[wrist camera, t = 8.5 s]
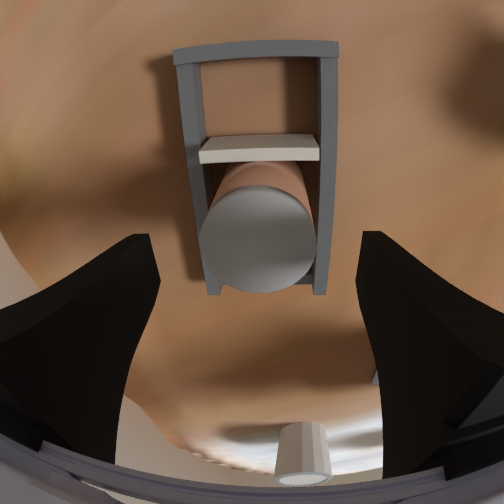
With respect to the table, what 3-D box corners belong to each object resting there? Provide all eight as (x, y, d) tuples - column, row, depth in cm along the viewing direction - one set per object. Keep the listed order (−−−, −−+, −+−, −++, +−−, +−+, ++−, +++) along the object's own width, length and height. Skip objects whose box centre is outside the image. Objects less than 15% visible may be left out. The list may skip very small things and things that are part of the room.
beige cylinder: (268, 437, 36) (266, 485, 30) (285, 416, 32) (284, 471, 27) (317, 442, 37) (318, 487, 31) (339, 421, 33) (343, 473, 27)
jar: (300, 217, 19) (310, 294, 13) (226, 214, 19) (204, 290, 13) (305, 145, 16) (322, 196, 11) (224, 143, 17) (194, 192, 11)
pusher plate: (311, 144, 16) (319, 160, 14) (212, 147, 17) (200, 163, 14) (312, 134, 16) (319, 148, 13) (211, 136, 16) (198, 151, 14)
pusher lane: (323, 279, 21) (326, 298, 20) (211, 279, 22) (206, 298, 20) (331, 44, 13) (338, 41, 11) (183, 51, 14) (172, 49, 12)
